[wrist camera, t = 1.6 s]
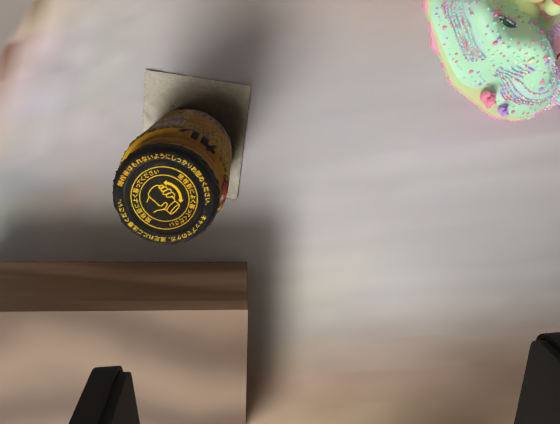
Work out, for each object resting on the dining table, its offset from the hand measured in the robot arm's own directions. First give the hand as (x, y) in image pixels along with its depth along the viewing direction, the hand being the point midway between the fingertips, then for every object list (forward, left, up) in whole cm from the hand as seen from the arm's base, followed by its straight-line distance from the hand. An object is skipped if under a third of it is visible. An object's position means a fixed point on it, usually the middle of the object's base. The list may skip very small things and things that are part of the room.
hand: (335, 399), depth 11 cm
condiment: (+1, +6, -25) cm, 26 cm away
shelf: (-17, +12, -25) cm, 33 cm away
